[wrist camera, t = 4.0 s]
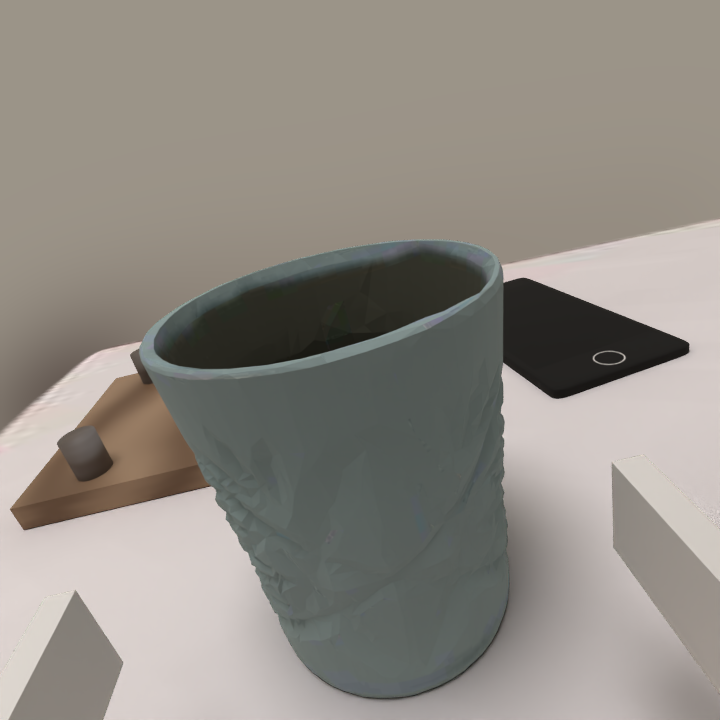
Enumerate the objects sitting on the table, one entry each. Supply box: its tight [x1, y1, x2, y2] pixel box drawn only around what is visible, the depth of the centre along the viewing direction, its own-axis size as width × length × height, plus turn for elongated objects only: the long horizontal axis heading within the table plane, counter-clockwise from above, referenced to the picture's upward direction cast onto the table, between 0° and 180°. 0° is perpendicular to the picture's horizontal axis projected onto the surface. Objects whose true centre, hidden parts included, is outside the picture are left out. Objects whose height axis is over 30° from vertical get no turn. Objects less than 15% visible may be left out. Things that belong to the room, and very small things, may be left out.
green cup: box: [139, 240, 509, 698], centre depth 17 cm, size 10×10×12 cm
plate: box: [10, 349, 211, 530], centre depth 34 cm, size 20×16×4 cm
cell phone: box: [503, 278, 689, 399], centre depth 36 cm, size 9×18×1 cm, turn 15°
